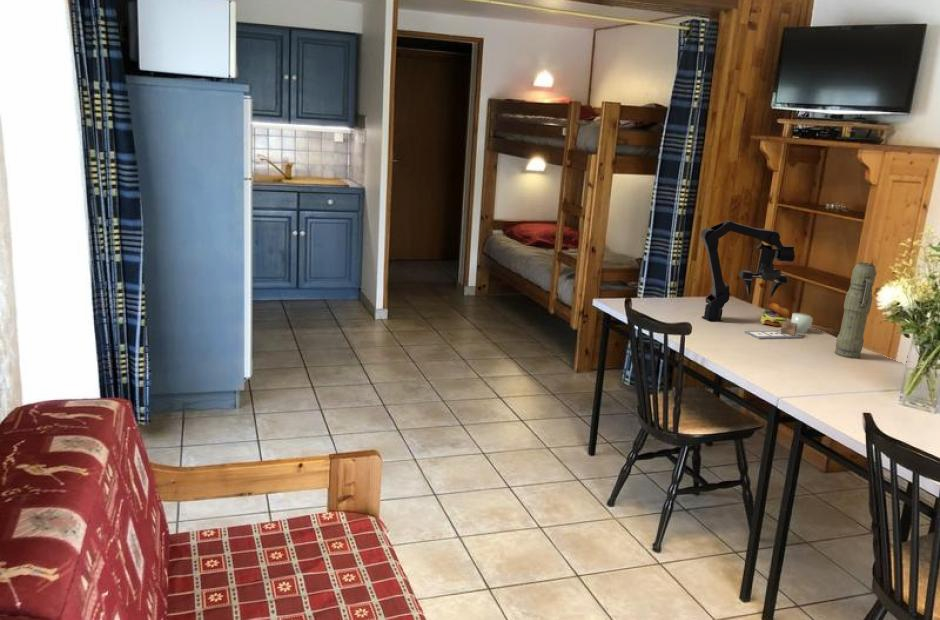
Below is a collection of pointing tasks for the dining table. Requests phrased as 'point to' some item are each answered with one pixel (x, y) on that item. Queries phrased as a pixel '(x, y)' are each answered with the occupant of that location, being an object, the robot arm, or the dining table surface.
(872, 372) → the dining table surface
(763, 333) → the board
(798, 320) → the mug
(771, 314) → the cheeseburger
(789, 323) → the brown wooden block
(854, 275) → the thermos
